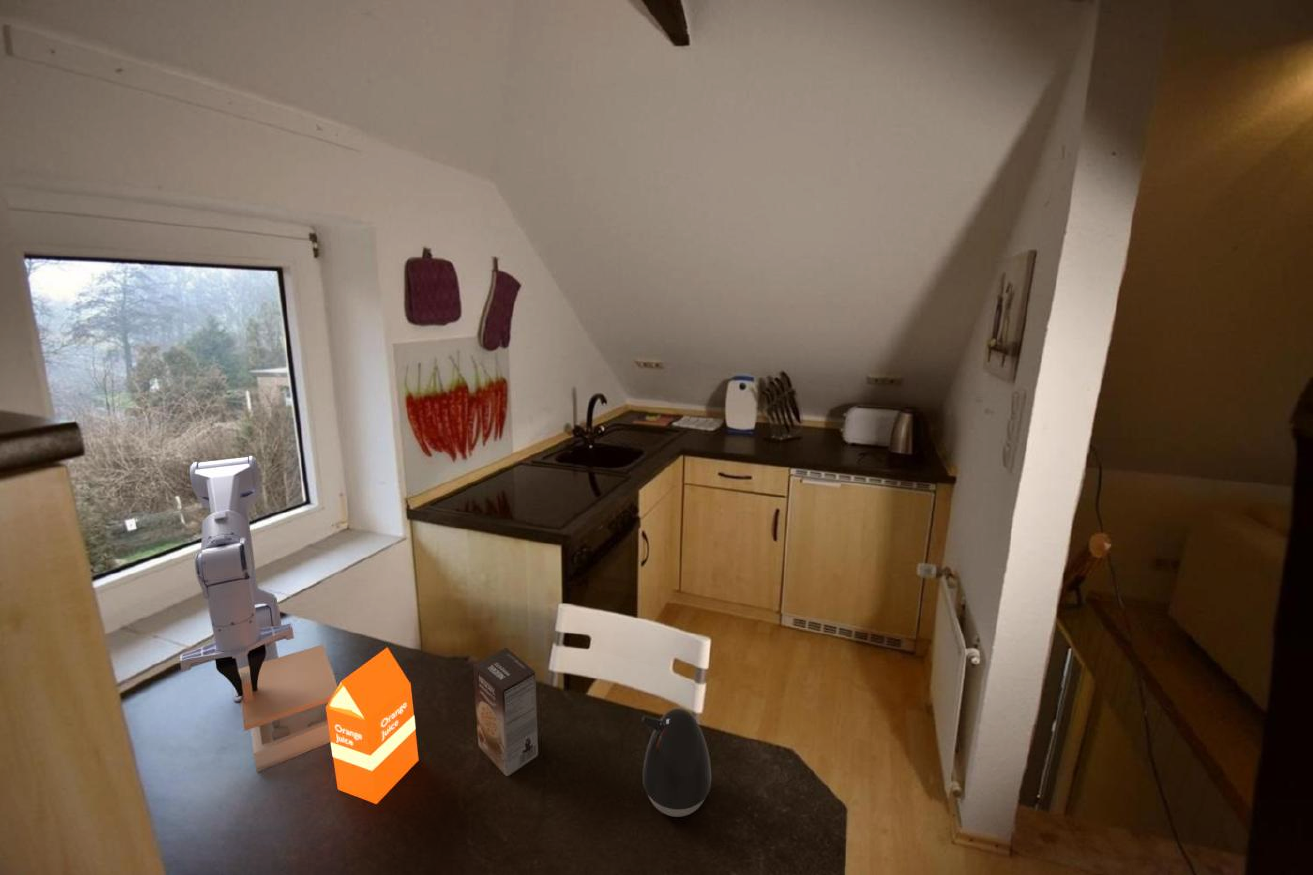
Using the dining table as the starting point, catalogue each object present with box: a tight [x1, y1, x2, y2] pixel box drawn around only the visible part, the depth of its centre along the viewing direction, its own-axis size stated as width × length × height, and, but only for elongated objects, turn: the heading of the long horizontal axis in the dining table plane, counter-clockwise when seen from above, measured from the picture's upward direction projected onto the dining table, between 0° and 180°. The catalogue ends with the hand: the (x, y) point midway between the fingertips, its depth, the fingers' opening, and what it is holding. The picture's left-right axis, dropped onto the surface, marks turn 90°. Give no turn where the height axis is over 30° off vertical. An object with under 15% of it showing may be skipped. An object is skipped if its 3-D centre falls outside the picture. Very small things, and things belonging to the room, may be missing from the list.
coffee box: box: [472, 647, 539, 777], centre depth 91 cm, size 9×6×16 cm
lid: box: [238, 644, 339, 732], centre depth 95 cm, size 17×13×5 cm
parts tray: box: [250, 701, 331, 773], centre depth 97 cm, size 16×12×4 cm
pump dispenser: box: [641, 707, 712, 818], centre depth 83 cm, size 10×10×15 cm
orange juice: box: [326, 646, 419, 805], centre depth 86 cm, size 8×9×20 cm
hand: (247, 690), depth 92 cm, fingers closed on lid
